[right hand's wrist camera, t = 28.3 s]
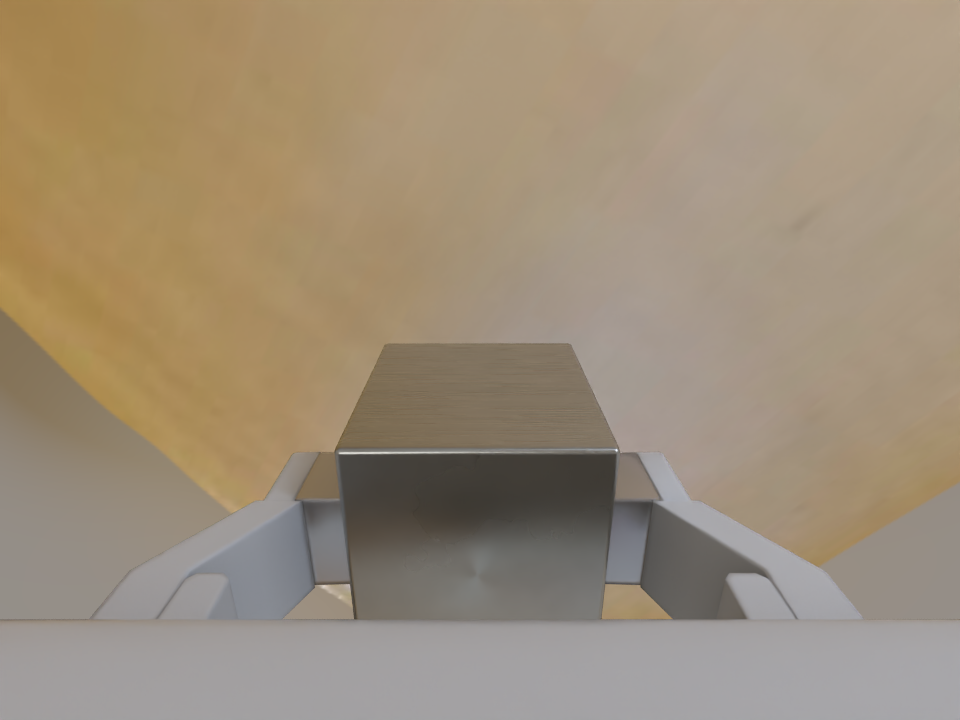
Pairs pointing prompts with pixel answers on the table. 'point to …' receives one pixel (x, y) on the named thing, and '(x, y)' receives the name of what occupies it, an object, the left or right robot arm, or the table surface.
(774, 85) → the table surface
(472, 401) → the block
